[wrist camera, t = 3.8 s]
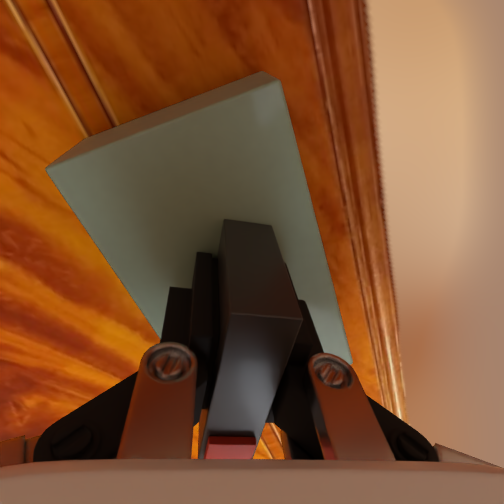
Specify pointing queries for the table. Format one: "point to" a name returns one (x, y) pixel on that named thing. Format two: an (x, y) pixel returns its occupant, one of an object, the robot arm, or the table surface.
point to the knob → (247, 340)
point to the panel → (200, 195)
